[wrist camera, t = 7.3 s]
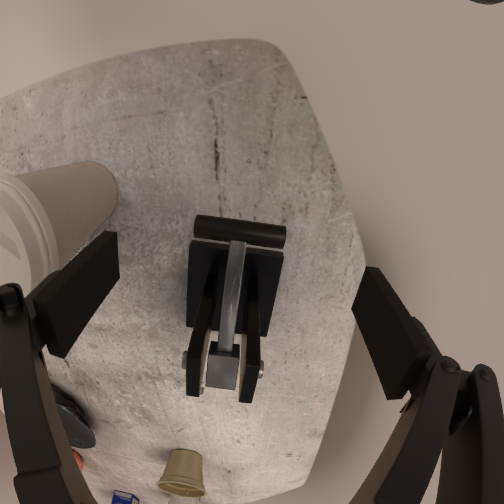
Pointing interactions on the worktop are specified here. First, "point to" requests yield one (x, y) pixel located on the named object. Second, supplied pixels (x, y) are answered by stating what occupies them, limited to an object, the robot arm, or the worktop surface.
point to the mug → (182, 500)
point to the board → (73, 421)
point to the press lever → (232, 287)
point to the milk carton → (124, 498)
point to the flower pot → (183, 475)
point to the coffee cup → (50, 218)
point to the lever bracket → (210, 305)
